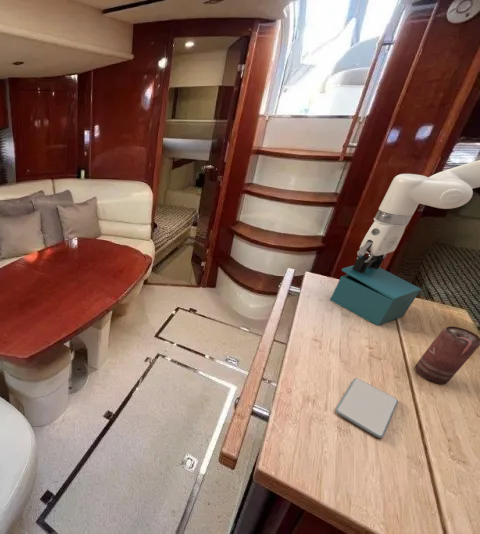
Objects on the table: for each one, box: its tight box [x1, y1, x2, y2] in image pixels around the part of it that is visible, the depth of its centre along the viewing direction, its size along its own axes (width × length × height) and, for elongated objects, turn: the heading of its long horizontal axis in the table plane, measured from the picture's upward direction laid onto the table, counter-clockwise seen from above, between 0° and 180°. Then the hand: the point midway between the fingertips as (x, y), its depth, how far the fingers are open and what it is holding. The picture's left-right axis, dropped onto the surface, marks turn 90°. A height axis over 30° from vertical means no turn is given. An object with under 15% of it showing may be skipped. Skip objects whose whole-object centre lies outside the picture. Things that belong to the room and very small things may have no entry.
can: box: [414, 325, 480, 385], centre depth 74 cm, size 6×6×14 cm
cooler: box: [329, 274, 421, 327], centre depth 99 cm, size 15×13×10 cm
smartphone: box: [335, 378, 399, 439], centre depth 70 cm, size 8×1×15 cm
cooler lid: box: [341, 257, 422, 300], centre depth 95 cm, size 15×13×5 cm
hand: (365, 268), depth 99 cm, fingers closed on cooler lid, 6 cm apart
